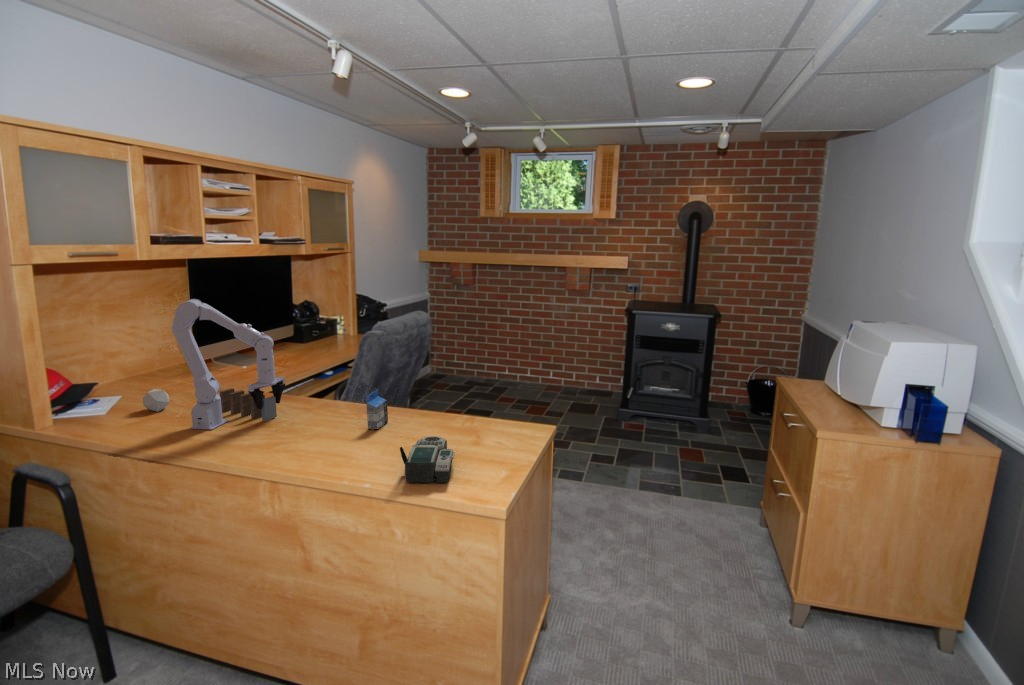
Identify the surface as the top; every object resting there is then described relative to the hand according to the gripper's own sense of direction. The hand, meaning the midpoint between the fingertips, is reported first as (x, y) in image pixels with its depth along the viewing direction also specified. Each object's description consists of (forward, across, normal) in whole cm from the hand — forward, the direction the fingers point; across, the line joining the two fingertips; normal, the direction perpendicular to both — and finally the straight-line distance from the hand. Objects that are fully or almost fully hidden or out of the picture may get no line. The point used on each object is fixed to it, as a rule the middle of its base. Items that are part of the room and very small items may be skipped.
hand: (268, 405), depth 192 cm
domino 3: (+5, 0, +11) cm, 12 cm away
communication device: (+6, -5, -74) cm, 74 cm away
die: (+6, -12, +46) cm, 47 cm away
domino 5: (+5, 0, 0) cm, 5 cm away
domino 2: (+5, 0, +16) cm, 17 cm away
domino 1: (+5, 0, +22) cm, 23 cm away
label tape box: (+5, +13, -39) cm, 41 cm away
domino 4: (+5, 0, +6) cm, 8 cm away
